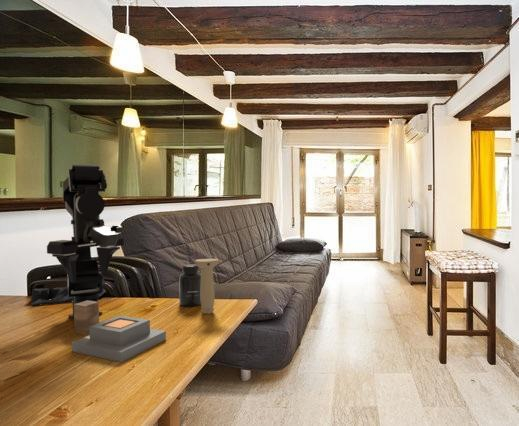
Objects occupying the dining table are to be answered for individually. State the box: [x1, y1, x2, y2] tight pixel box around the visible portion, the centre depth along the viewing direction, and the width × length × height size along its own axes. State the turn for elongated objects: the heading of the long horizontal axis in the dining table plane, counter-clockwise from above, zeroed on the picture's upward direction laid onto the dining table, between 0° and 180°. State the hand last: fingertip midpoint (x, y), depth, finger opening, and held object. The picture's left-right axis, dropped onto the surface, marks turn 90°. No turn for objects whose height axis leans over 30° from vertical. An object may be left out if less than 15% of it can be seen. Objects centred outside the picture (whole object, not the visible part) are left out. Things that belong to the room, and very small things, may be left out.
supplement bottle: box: [178, 263, 201, 308], centre depth 125 cm, size 7×7×12 cm
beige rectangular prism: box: [73, 300, 100, 336], centre depth 102 cm, size 4×4×7 cm
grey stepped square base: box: [71, 314, 167, 363], centre depth 91 cm, size 14×14×5 cm
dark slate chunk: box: [30, 286, 106, 306], centre depth 135 cm, size 15×22×5 cm
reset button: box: [105, 320, 135, 329], centre depth 91 cm, size 5×5×3 cm
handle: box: [194, 258, 219, 315], centre depth 115 cm, size 5×6×15 cm
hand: (89, 278), depth 102 cm, fingers open, 9 cm apart
